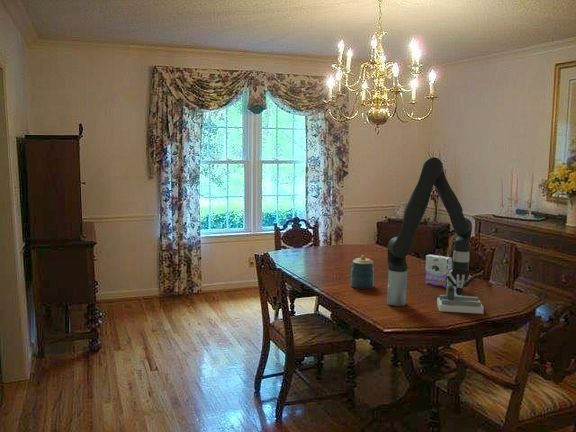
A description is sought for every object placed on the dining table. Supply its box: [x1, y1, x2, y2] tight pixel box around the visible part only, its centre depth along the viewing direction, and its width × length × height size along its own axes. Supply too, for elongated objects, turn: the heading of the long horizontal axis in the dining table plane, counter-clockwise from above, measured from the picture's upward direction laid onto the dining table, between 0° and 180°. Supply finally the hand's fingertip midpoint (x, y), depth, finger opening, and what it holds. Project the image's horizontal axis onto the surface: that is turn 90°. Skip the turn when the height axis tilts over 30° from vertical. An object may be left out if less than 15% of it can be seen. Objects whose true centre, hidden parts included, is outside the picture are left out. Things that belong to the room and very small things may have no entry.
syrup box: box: [448, 270, 463, 296], centre depth 272 cm, size 6×6×14 cm
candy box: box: [423, 253, 453, 288], centre depth 297 cm, size 14×6×16 cm, turn 47°
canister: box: [350, 254, 375, 290], centre depth 292 cm, size 13×13×18 cm
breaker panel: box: [436, 294, 485, 315], centre depth 255 cm, size 20×12×5 cm, turn 80°
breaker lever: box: [445, 284, 454, 300], centre depth 255 cm, size 3×5×8 cm, turn 170°
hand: (458, 294), depth 254 cm, fingers closed
